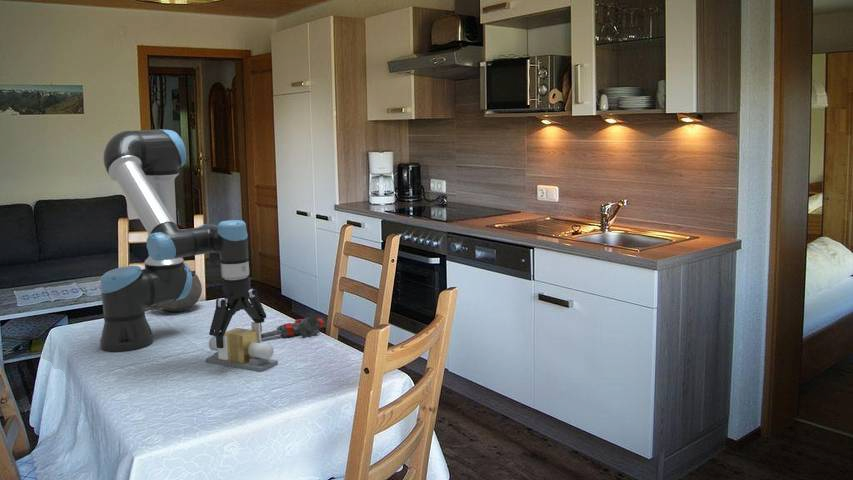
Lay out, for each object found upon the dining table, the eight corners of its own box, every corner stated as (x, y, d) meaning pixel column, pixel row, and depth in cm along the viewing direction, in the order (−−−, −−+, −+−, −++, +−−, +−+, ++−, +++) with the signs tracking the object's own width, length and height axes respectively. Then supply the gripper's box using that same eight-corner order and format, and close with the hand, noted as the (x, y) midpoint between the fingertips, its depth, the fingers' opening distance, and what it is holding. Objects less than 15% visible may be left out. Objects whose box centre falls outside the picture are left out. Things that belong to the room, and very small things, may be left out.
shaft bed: (206, 361, 208) (204, 339, 207) (223, 354, 214) (222, 333, 213) (261, 371, 199) (259, 348, 197) (277, 363, 205) (276, 341, 204)
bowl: (174, 318, 255) (172, 282, 253) (140, 312, 264) (137, 278, 262) (213, 306, 270) (211, 272, 268) (179, 301, 279) (176, 268, 277)
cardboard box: (257, 358, 207) (256, 330, 206) (244, 364, 202) (242, 335, 201) (238, 354, 210) (236, 327, 209) (225, 360, 205) (223, 332, 204)
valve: (315, 329, 245) (331, 333, 232) (237, 346, 233) (249, 351, 220) (312, 310, 245) (328, 313, 232) (234, 326, 233) (246, 330, 220)
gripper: (212, 287, 190) (218, 367, 193) (276, 269, 211) (280, 340, 215) (191, 285, 193) (197, 363, 197) (255, 267, 215) (260, 337, 218)
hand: (240, 351), depth 206 cm, fingers open, 13 cm apart
